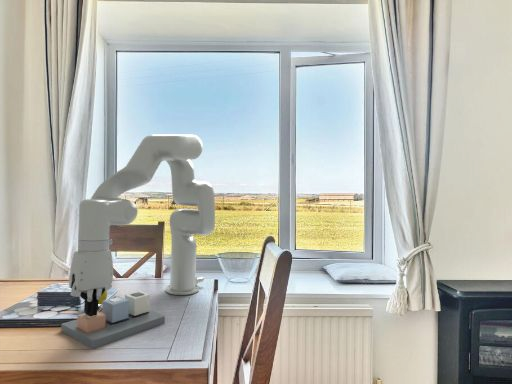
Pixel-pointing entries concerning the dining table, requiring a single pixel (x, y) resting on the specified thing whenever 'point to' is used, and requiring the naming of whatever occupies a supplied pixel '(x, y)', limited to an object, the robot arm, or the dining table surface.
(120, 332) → the keypad board
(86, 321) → the key terracotta
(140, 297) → the key cream
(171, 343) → the dining table surface
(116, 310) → the key slate
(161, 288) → the dining table surface
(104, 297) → the lemon
